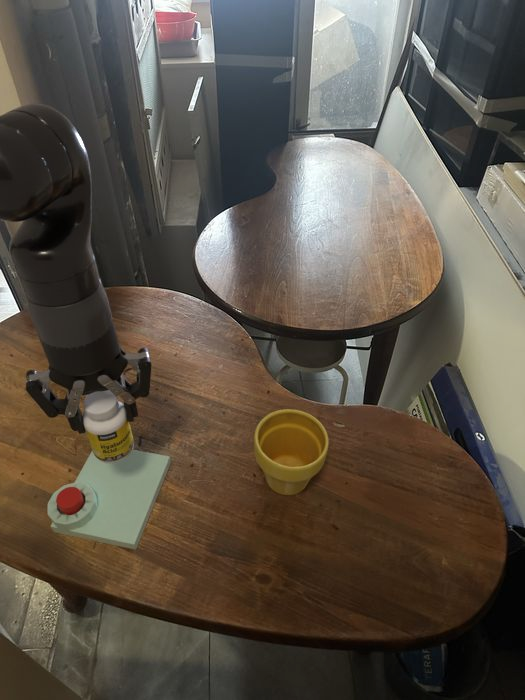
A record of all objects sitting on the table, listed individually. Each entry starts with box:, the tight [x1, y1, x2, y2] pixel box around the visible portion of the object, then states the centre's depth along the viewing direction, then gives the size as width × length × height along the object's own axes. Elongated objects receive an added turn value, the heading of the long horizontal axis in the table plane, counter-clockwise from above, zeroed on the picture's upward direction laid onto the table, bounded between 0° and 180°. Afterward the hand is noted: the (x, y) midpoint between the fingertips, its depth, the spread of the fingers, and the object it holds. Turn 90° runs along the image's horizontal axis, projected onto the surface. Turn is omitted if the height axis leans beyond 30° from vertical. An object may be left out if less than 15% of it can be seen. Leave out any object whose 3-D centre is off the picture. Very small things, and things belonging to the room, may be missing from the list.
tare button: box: [56, 487, 84, 515], centre depth 65 cm, size 3×3×2 cm
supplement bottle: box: [82, 390, 135, 463], centre depth 62 cm, size 5×5×10 cm
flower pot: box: [253, 408, 330, 496], centre depth 70 cm, size 10×10×10 cm
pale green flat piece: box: [47, 449, 172, 551], centre depth 69 cm, size 13×14×4 cm
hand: (106, 422), depth 61 cm, fingers closed on supplement bottle, 5 cm apart
